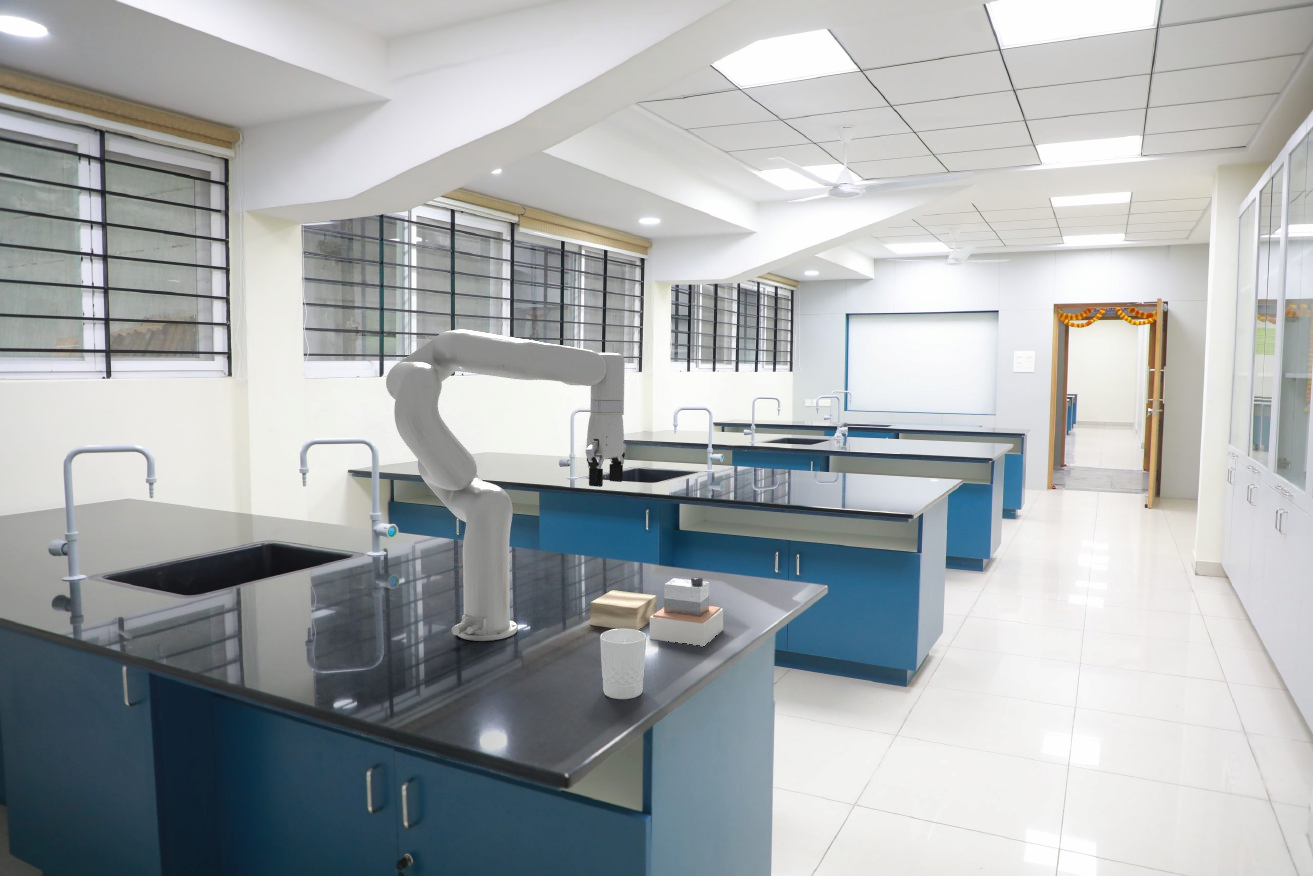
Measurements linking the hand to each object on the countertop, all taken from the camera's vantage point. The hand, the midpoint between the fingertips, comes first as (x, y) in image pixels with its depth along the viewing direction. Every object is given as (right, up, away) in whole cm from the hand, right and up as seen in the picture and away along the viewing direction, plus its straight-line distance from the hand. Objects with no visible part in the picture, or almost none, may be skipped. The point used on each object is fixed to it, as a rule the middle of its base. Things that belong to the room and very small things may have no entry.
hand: (606, 483), depth 189 cm
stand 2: (+18, -31, -13) cm, 38 cm away
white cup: (+6, -34, -45) cm, 56 cm away
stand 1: (+4, -30, -4) cm, 31 cm away
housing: (+18, -26, -13) cm, 34 cm away
